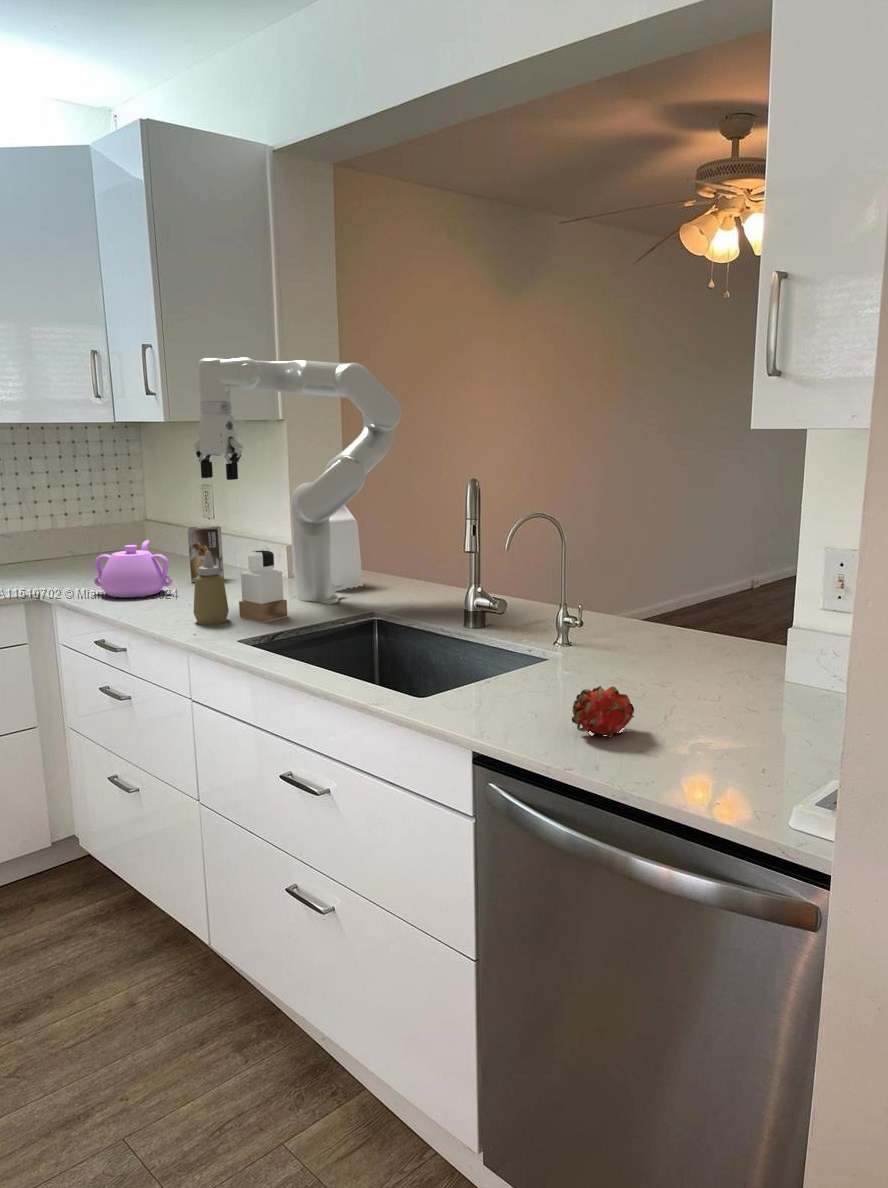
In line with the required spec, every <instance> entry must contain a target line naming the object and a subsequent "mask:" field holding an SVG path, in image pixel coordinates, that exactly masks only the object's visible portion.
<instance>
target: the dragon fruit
mask: <svg viewBox="0 0 888 1188" xmlns="http://www.w3.org/2000/svg"><path fill="white" fill-rule="evenodd" d="M572 704H573V706H572V715H573V716H572V717H571V722H572V723H574V724H575V725H576V728H577V730H578V731H580V732H587V731H588V732H589V731H591V732H592V733H594V734H595V735H597V734H600V735H601V734H602V735H607V736H612V737H613V736H614V734H617V733H616V732H618V733H619V731H620V730H621V729H622V728H626V726H627V725H628V724H629V723H630V721H631V720H632V718H634V717H635V716H634V715H633V714H634V712H635V707H634V705H633V704H632V703H631V700H630V698H629V696H628V695H627V694H625V693H620V692H619V690H618V689H617V688H616V686H610V687H609V688H607V689H605V690H604V688H603V687H602V686H601V685H599V686H597V687H594V688H593V689H592V690H591V689H588V688H587V689H586V688H585V689H583V690H581V692H580V694H577V695H576V700H574V701H573V703H572ZM581 726H582V727H581ZM602 735H601V736H602ZM607 736H606V737H607Z"/></svg>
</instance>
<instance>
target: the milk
mask: <svg viewBox="0 0 888 1188" xmlns="http://www.w3.org/2000/svg"><path fill="white" fill-rule="evenodd" d="M329 522H330V539H331V544H330V546H331V578H332V583H334V584H339V583H343V585H344V590H348V589H347V588H350V589H354V588H353V587H355V588H359V587H358V586H361V587H364V585H363V584H364V583H363V572H362V561H361V547H360V537H359V526H358V525H359V524H358V521H357V520H356V518H355V517H354V516H353V515H352V513H351V512H350V511H349V509H348V507H347V506H346V504H345V505H344V506H343V507H341V508H340V509H339V510H338V511H337V512H336V513H335V514H333V515H332V516H331V517H330V518H329Z"/></svg>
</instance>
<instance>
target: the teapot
mask: <svg viewBox="0 0 888 1188" xmlns="http://www.w3.org/2000/svg"><path fill="white" fill-rule="evenodd" d="M149 545H150V540H149V539H146V540H144V541H143V542H142V544H141V547H140V550H139V549H138V545H136V544H128V545H124V550H122V551H116V552H113V553H111V555H110V554H106V553H105V554H100V555H99V556H98V557H96V559H95V564H94V565H95V570H96V572H97V575H96V577H94V580H93V582H94V584H95V585H96V586H98V587H100V588H101V589H102V591H103V592H104V593H105V594H107V596H110V597H113V598H116V597H119V598H139V597H141V598H145V597H144V596H146V597H148V596H152V595H155V594H158V593H159V592H161V590H162V589H164V587H170V586H171V585H173V582H174V580H173V578H172V577H171V576H169V575H168V572H169V568H170V567H169V565H170V563H169V559H168V558H167V556H165V555H163V554H160V553H156V554H152V553H151V552H150V551H149ZM137 549H138V550H137ZM102 559H107V562H106V564H105V565H104V567H103V568H102V565H101V560H102ZM157 559H161V560H162V562H163V568H162V566H161V564H160V562H159V561H158V560H157ZM167 580H168V581H167Z"/></svg>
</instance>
